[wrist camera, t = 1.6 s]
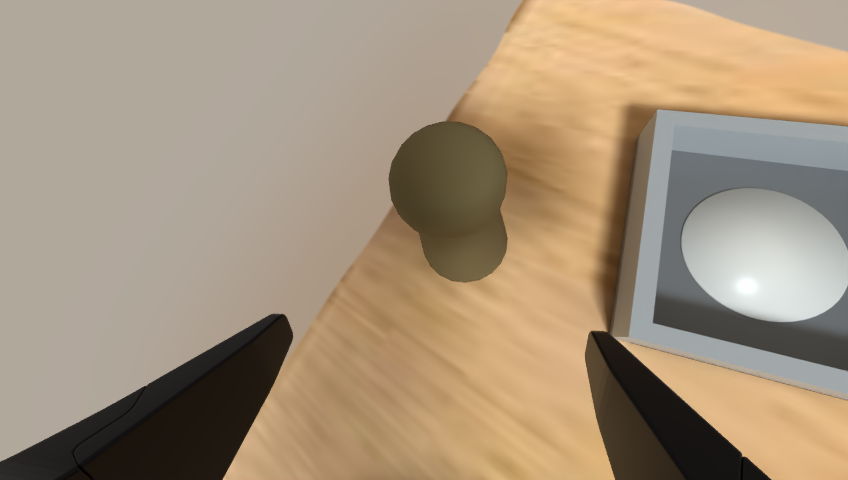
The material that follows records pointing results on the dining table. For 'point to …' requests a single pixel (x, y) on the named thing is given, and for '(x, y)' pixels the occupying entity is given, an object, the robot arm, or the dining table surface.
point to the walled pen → (739, 247)
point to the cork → (453, 198)
